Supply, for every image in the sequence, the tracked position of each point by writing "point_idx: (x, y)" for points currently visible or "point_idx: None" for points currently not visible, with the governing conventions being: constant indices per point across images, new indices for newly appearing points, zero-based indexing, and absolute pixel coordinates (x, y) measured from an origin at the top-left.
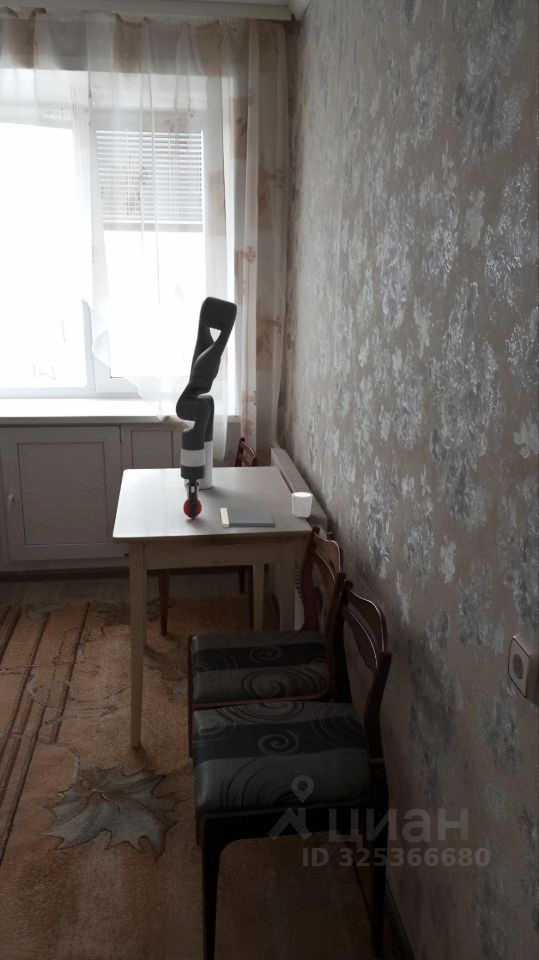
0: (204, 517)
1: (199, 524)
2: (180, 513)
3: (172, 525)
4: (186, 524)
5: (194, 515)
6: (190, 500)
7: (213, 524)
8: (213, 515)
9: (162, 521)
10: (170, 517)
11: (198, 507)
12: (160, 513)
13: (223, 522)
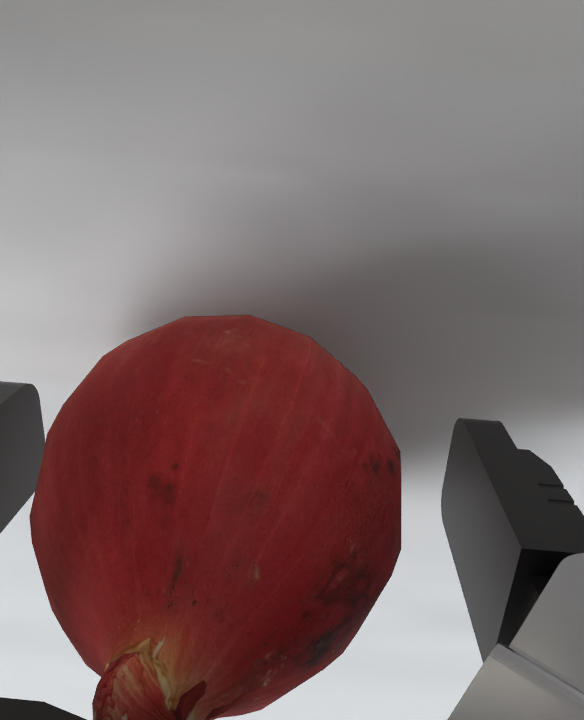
0: (179, 221)
1: (500, 322)
2: (29, 510)
3: None
4: None
5: (534, 461)
6: (295, 680)
7: (549, 98)
8: (69, 55)
9: (321, 687)
10: None
11: (367, 429)
12: (55, 683)
13: None
